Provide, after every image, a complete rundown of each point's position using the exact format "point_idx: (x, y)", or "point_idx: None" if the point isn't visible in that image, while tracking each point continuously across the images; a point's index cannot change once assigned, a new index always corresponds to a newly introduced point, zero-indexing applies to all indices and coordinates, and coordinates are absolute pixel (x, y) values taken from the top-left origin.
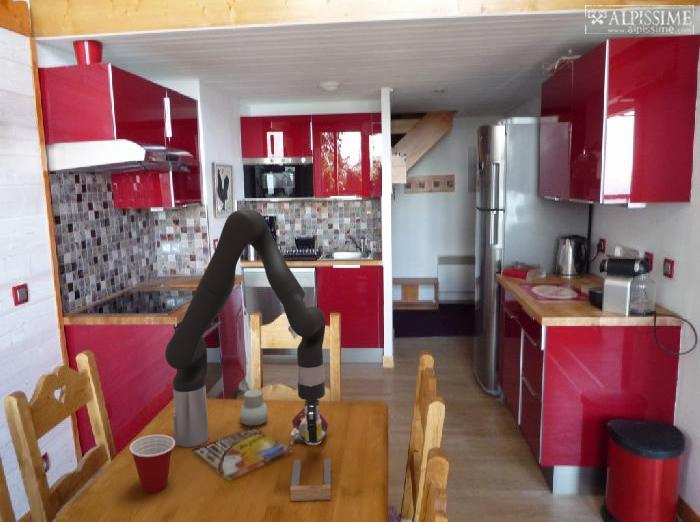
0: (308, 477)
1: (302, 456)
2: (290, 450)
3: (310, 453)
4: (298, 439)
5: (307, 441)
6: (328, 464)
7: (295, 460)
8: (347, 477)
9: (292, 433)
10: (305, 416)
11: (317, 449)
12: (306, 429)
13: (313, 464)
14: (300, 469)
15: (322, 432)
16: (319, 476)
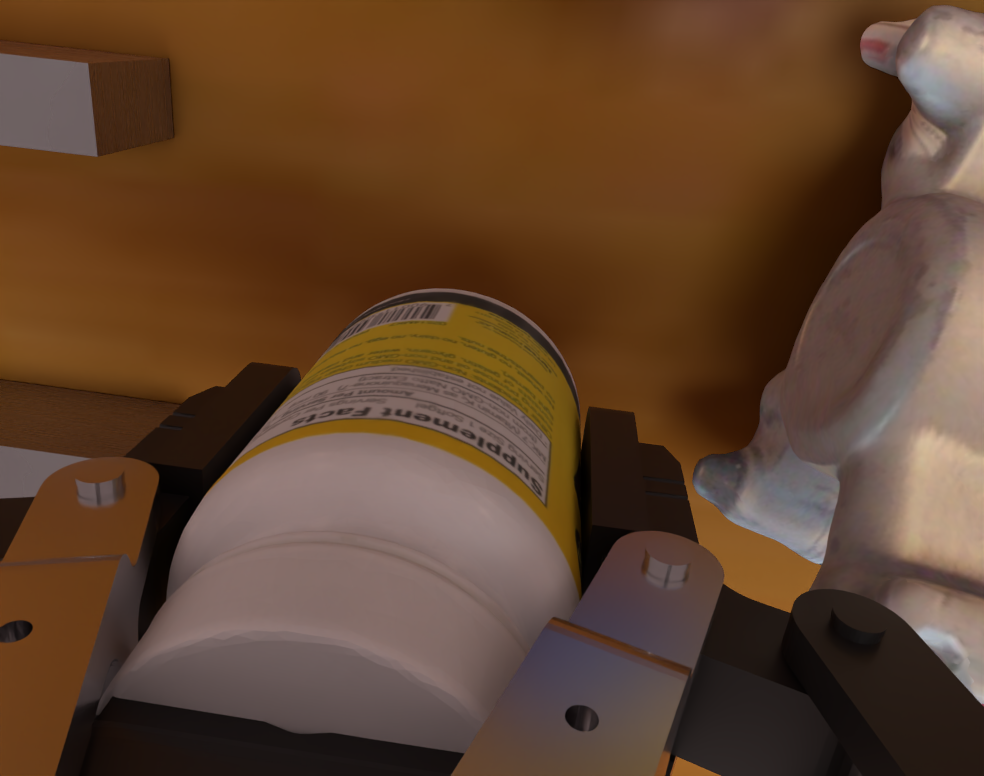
0: (32, 221)
1: (494, 182)
2: (697, 11)
3: (549, 290)
4: (886, 157)
5: (347, 328)
6: (5, 489)
7: (73, 83)
8: None
9: (955, 61)
10: (290, 571)
11: (627, 381)
12: (286, 410)
13: (293, 301)
14: (167, 138)
15: (799, 540)
16: (58, 338)
